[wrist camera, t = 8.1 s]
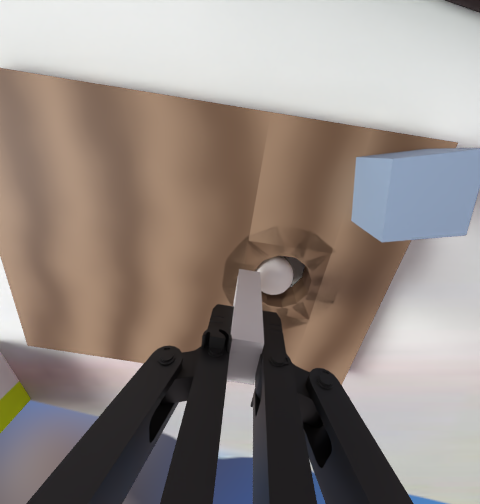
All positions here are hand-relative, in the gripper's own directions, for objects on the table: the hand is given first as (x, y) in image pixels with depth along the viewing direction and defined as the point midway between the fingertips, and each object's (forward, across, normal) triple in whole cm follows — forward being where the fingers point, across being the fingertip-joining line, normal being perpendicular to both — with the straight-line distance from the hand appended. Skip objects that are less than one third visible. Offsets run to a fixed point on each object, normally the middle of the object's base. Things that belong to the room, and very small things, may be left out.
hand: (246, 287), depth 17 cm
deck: (+4, -5, 0) cm, 7 cm away
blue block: (+1, +8, +8) cm, 11 cm away
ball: (+2, +2, 0) cm, 3 cm away
